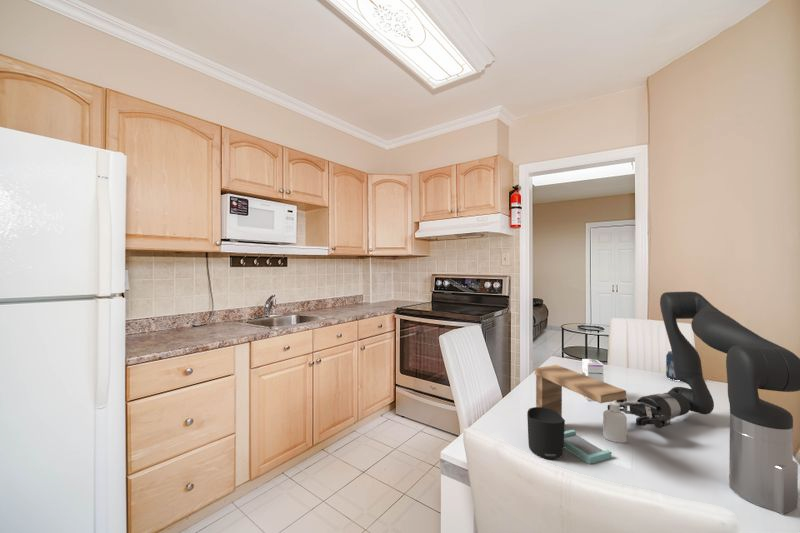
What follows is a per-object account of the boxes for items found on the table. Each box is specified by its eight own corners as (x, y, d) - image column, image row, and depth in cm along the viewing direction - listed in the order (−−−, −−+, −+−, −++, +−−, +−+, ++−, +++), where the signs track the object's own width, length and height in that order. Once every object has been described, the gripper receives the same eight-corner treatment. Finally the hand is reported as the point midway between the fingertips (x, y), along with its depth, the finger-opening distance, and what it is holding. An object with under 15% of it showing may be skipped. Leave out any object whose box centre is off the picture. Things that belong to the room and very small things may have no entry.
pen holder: (521, 450, 87) (521, 414, 87) (535, 437, 93) (535, 404, 93) (557, 466, 80) (557, 427, 80) (569, 450, 87) (569, 414, 87)
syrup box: (604, 402, 117) (604, 363, 117) (587, 400, 119) (587, 362, 119) (598, 396, 123) (598, 359, 123) (581, 394, 124) (581, 358, 124)
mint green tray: (611, 457, 84) (611, 451, 84) (589, 464, 81) (589, 457, 81) (572, 434, 95) (572, 429, 95) (552, 439, 92) (552, 434, 92)
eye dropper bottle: (606, 432, 96) (606, 393, 96) (628, 440, 92) (628, 399, 92) (601, 437, 93) (601, 397, 93) (623, 446, 89) (623, 404, 89)
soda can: (684, 378, 142) (684, 352, 142) (688, 383, 136) (688, 356, 136) (664, 375, 146) (664, 350, 146) (667, 380, 140) (667, 353, 140)
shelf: (625, 463, 81) (625, 390, 81) (600, 471, 78) (600, 395, 78) (556, 423, 102) (557, 364, 102) (534, 428, 99) (535, 367, 99)
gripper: (635, 387, 106) (600, 393, 100) (685, 404, 92) (648, 413, 87) (635, 409, 106) (600, 417, 100) (685, 430, 92) (648, 440, 87)
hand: (622, 415), depth 93 cm, fingers open, 8 cm apart
